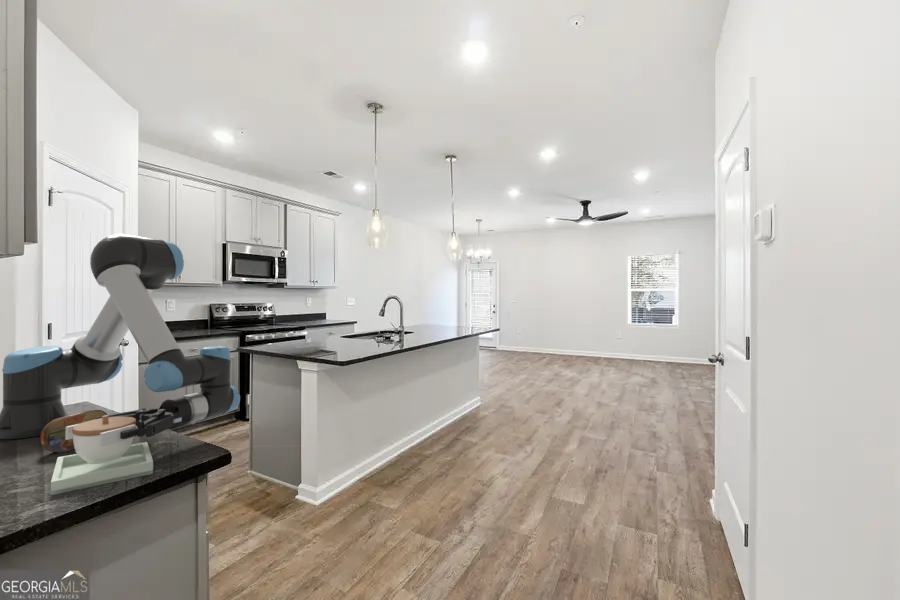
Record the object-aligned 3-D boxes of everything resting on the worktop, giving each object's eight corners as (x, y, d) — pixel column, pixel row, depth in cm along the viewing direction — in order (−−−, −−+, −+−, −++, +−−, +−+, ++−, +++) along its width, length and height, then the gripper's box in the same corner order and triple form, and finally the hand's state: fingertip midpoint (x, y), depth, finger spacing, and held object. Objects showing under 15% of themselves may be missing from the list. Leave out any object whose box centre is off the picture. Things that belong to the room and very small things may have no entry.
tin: (47, 457, 98) (47, 422, 98) (36, 456, 99) (37, 421, 99) (110, 437, 113) (111, 406, 113) (101, 436, 113) (102, 405, 113)
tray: (57, 468, 91) (57, 457, 91) (146, 452, 102) (147, 441, 102) (50, 495, 79) (50, 481, 79) (153, 473, 90) (153, 461, 90)
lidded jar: (132, 461, 89) (133, 418, 89) (65, 472, 83) (66, 425, 83) (138, 446, 98) (138, 407, 98) (78, 455, 92) (78, 413, 92)
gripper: (216, 430, 103) (120, 462, 83) (151, 420, 111) (49, 447, 91) (216, 400, 103) (120, 424, 83) (152, 392, 111) (50, 413, 91)
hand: (83, 436), depth 87 cm, fingers closed on lidded jar, 11 cm apart
